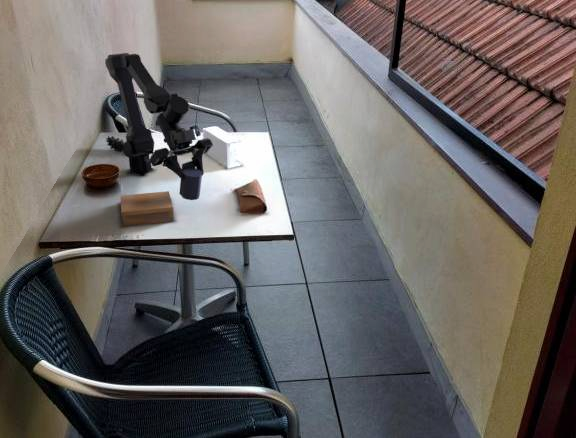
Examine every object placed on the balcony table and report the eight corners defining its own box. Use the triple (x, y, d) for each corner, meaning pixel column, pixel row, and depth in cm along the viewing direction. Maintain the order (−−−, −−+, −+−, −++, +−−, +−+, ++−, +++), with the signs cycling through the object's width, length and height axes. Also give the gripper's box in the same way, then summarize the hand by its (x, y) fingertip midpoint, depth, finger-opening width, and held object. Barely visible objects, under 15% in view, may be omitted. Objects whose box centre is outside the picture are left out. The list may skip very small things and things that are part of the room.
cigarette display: (241, 165, 195) (241, 140, 190) (227, 168, 192) (227, 143, 187) (215, 148, 209) (214, 125, 205) (201, 151, 206) (200, 127, 202)
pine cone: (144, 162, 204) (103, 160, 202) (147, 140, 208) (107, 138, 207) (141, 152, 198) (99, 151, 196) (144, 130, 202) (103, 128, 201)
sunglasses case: (232, 188, 176) (243, 171, 174) (251, 197, 179) (261, 180, 177) (239, 213, 160) (250, 195, 158) (259, 223, 163) (271, 205, 161)
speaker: (174, 191, 165) (177, 160, 160) (192, 189, 168) (195, 158, 163) (184, 203, 160) (187, 172, 155) (202, 201, 163) (205, 170, 158)
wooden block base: (121, 203, 165) (119, 189, 163) (168, 199, 169) (167, 185, 167) (123, 226, 152) (121, 212, 150) (173, 221, 156) (172, 207, 154)
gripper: (151, 123, 150) (174, 173, 148) (208, 111, 161) (231, 158, 159) (140, 142, 159) (162, 189, 157) (195, 130, 170) (216, 174, 168)
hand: (193, 177), depth 160 cm, fingers closed on speaker, 6 cm apart
